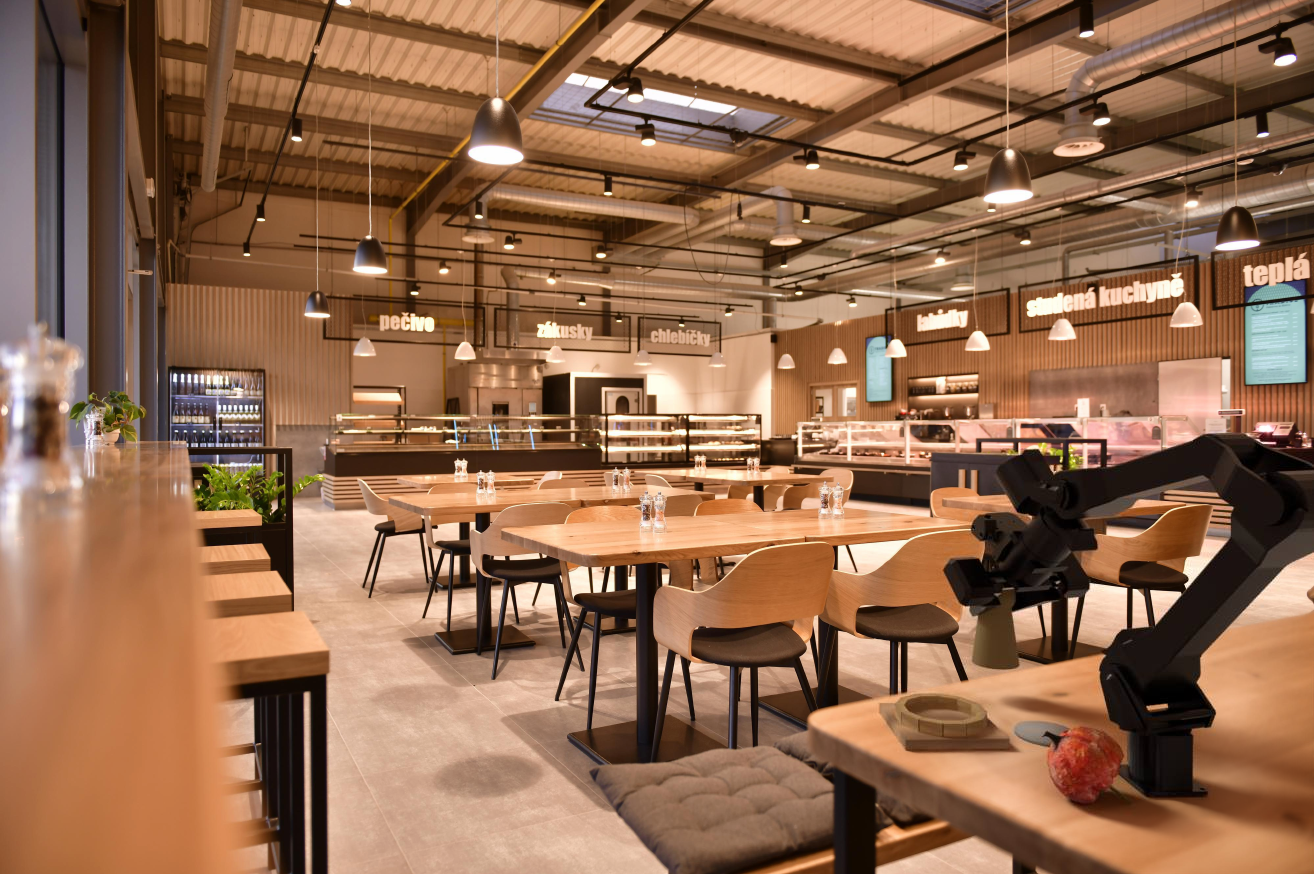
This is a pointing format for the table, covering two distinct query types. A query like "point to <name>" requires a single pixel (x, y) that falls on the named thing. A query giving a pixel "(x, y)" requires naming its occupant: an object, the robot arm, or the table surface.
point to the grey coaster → (1038, 731)
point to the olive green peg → (997, 636)
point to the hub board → (942, 742)
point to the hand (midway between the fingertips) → (988, 612)
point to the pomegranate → (1083, 763)
